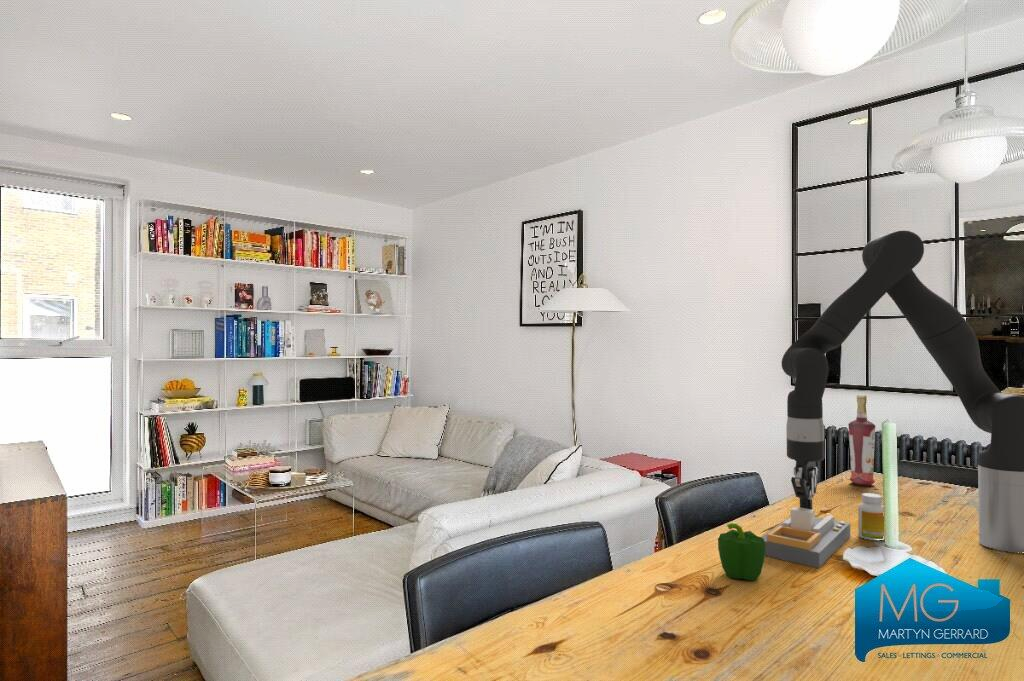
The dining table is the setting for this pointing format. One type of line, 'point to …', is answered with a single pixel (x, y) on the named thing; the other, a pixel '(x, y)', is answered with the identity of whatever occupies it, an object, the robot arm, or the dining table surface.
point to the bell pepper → (741, 553)
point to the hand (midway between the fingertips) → (806, 515)
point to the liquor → (862, 446)
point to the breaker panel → (806, 541)
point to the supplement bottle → (871, 517)
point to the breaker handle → (802, 518)
